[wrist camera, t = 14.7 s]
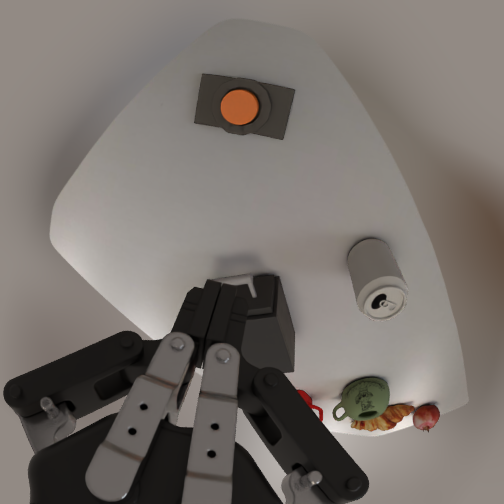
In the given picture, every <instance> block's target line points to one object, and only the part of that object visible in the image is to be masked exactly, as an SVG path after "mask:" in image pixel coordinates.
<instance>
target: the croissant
mask: <svg viewBox="0 0 504 504" xmlns="http://www.w3.org/2000/svg"><path fill="white" fill-rule="evenodd" d="M414 410H415V408H414V407H413V406H411V405H395V406H389V407H387V408H386V410H385V411H384V412H383V414H382V415H380V416H379V417H376V418H374V419H371V420H366V421H357V420H356V421H354V422H353V423H352V424H351V428H355V429H359V430H361V429H364V430H368V431H370V432H371V431H373V430H377V428H378V429H380V430H382V431H385V430H389V429H392V428H394V427H395V426H396V424H397V423H398V422H400V421H402V419H403V417H404V416H407V415H409V414H410V413H411V412H412V411H414Z"/></svg>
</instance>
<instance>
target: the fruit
mask: <svg viewBox="0 0 504 504" xmlns="http://www.w3.org/2000/svg"><path fill="white" fill-rule="evenodd" d="M439 417H440V412H439V410H438V408H437V407H436V406H435V405H428V406H427V405H423V406H421V407H420V408H419V409H417V410H416V411H415V413H414V415H413V424H414V426H415V427H416V428H418V429H421V430H427V431H428V432H429V429H430V428H432V427H434V425H435V424H436V423H437V421H438V419H439Z"/></svg>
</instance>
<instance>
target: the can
mask: <svg viewBox="0 0 504 504" xmlns="http://www.w3.org/2000/svg"><path fill="white" fill-rule="evenodd" d="M348 268H349V272H350V276H351V280H352V284H353V288H354V292H355V297H356V301H357V305H358V307H359V310H360V311H361V312H362V313H363V314H365V316H366V317H368V318H369V319H371V320H373V321H387V320H389V319H392V318H394V317H396V316H397V315H399V314H400V313H401V312H402V310H403V309H404V307H405V306H406V302H407V296H408V288H407V284H406V282H405V280H404V278H403V275H402V273H401V271H400V269H399V267H398V265H397V263H396V260H395V258H394V256H393V254H392V252H391V250H390V248H389V247H388V245H387V244H386V243H384V242H383V241H381V240H377V239H368V240H364V241H362V242H359V243H358V244H357V245H356V246H354V247H353V249H352V250H351V251H350V253H349V256H348Z"/></svg>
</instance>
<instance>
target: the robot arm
mask: <svg viewBox="0 0 504 504" xmlns="http://www.w3.org/2000/svg"><path fill="white" fill-rule="evenodd" d="M221 287H222V288H221ZM236 291H237V286H236V285H231V284H227V283H223V284H222V282H218V281H214V280H210V279H207V281H206V284H205V286H204V289H202V288H198V287H194V288H193V289H191V290H190V291H189V292H188V293H187V295H186V297H185V300H184V302H183V304H182V307H181V309H180V311H179V314H178V316H177V319H176V321H175V323H174V326H173V328H172V330H171V332H170V333H169V334H167V335H166V336H165V337H164V338H163V339H160V340H142V339H141V337H140V336H139V335H138V334H137V333H135V332H132V331H122V332H119V333H117V334H115V335H113V336H110V337H108V338H106V339H104V340H101V341H99V342H97V343H95V344H92V345H90V346H88V347H85V348H83V349H81V350H79V351H77V352H74V353H72V354H69V355H67V356H65V357H63V358H60V359H58V360H56V361H54V362H51V363H49V364H46V365H44V366H42V367H39V368H37V369H35V370H32V371H30V372H28V373H25V374H23V375H20V376H18V377H16V378H14V379H11V380H10V381H8V382H7V384H6V385H5V387H4V391H3V395H4V399H5V401H6V403H7V404H8V405H9V406H10V407H11V408H12V409H13V410H14V412H15V413H16V414H17V415H18V416H19V418H20V420H21V423H22V426H23V428H24V430H25V433H26V435H27V438H28V440H29V442H30V445H31V447H32V449H33V451H34V453H35V455H34V456H33V457H32V459H31V461H30V463H29V467H28V478H29V484H30V504H283V503H282V501H281V500H280V498H279V497H278V496H277V494H276V493H275V491H274V490H273V488H272V487H271V485H270V484H269V482H268V481H267V479H266V478H265V476H264V475H263V473H262V472H261V470H260V469H259V467H258V466H257V464H256V462H255V461H254V459H253V458H252V456H251V455H250V454H249V453H248V451H247V450H246V449H244V448H243V447H242V446H241V445H239V444H238V443H237V442H235V434H236V421H237V409H238V407H239V408H241V409H242V410H243V413H244V414H245V416H246V417H247V419H248V420H249V422H250V423H251V425H252V426H253V428H254V429H255V431H256V432H257V434H258V435H259V437H260V438H261V440H262V441H263V442H264V444H265V445H266V447H267V448H268V450H269V451H270V452H271V454H272V455H273V457H274V458H275V459H276V461H277V462H278V463H279V465H280V466H281V467H282V469H283V470H284V471H285V473H286V474H287V475H286V476H285V478H284V479H283V481H282V485H281V486H282V491H283V493H284V495H285V498H286V504H345V503H348V502H352V501H355V500H358V499H360V498H362V497H363V496H364V495H365V494H366V492H367V490H368V488H369V480H368V477H367V476H366V474H365V473H364V472H363V471H362V470H361V468H360V467H359V466H358V465H357V464H356V463H355V462H354V460H353V459H352V458H351V457H350V455H349V454H348V453H347V452H346V451H345V450H344V448H343V447H342V446H341V445H340V444H339V442H338V441H337V440H336V439H335V438H334V436H333V435H332V434H331V433H330V431H329V430H328V429H327V428H326V427H325V425H324V424H323V423H322V422H321V420H320V419H319V418H318V417H317V415H316V414H315V413H314V412H313V410H312V409H311V408H310V407H309V405H308V404H307V403H306V401H305V400H304V399H303V398H302V396H301V395H300V394H299V393H298V391H297V390H296V389H295V387H294V386H293V385H292V384H291V382H290V381H289V380H288V378H287V377H286V376H285V374H284V373H283V372H282V371H280V370H279V369H276V368H273V367H264V368H261V369H259V368H257V367H255V366H253V365H251V364H250V363H249V362H247V361H246V360H245V358H244V357H243V355H242V352H241V346H242V341H243V336H244V330H245V325H246V319H247V314H248V308H249V306H248V304H247V301H246V299H245V298H240V297H236ZM202 363H203V367H202V369H204V371H203V377H202V382H201V388H200V393H199V397H198V403H197V409H196V415H195V421H194V427H193V428H187V427H178V426H176V424H177V420H178V415H179V411H180V409H181V407H182V404H183V402H184V399H185V397H186V394H187V391H188V389H189V386H190V384H191V381H192V378H193V375H194V372H195V368H196V367H197V368H201V366H202ZM126 395H127V397H126V399H125V401H124V403H123V405H122V407H121V409H120V411H119V412H118V413H114V414H111V415H108V416H106V417H104V418H102V419H100V420H99V421H97V422H95V423H93V424H91V425H89V426H87V427H85V428H83V429H81V430H80V431H78V432H76V433H74V434H72V435H70V436H68V435H69V434H71V433H72V432H73V431H74V430H75V427H76V420H77V419H79V418H81V417H83V416H86V415H87V414H90V413H92V412H94V411H96V410H98V409H100V408H102V407H104V406H106V405H108V404H110V403H112V402H114V401H116V400H118V399H120V398H122V397H124V396H126ZM67 436H68V437H67Z"/></svg>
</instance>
